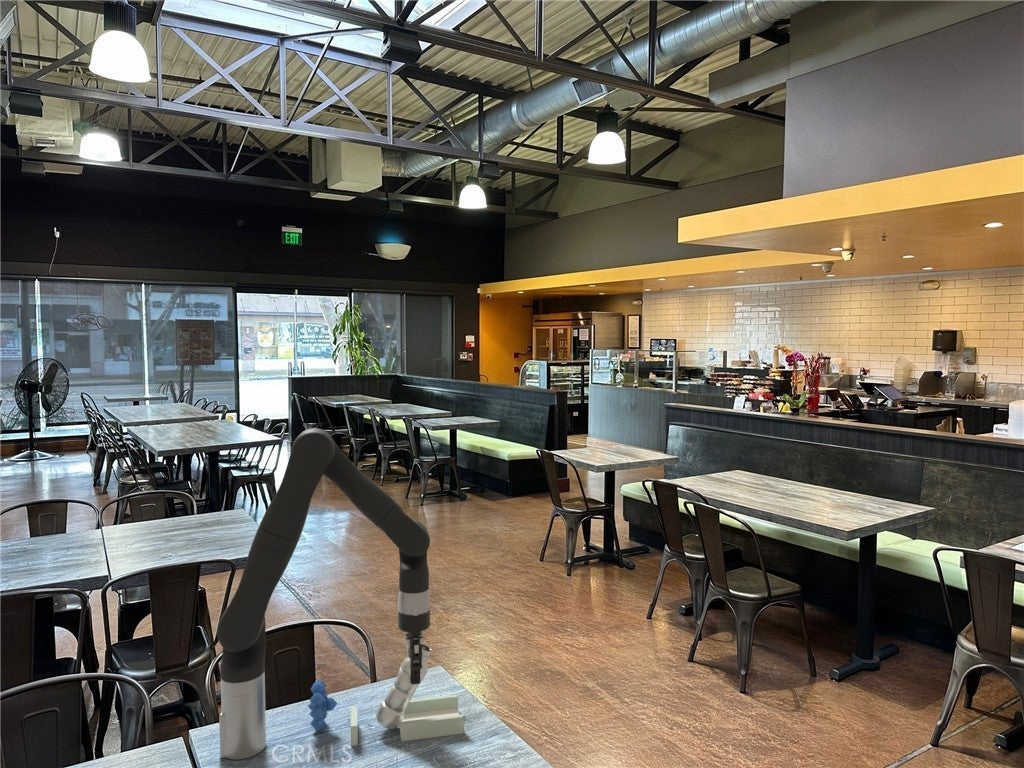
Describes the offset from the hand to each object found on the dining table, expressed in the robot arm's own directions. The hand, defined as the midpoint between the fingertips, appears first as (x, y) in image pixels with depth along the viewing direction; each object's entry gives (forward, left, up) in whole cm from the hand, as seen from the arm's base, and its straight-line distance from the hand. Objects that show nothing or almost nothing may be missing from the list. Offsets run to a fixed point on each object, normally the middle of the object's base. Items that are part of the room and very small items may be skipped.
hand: (414, 676), depth 162 cm
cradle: (+5, 0, -12) cm, 13 cm away
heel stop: (-14, 0, -12) cm, 19 cm away
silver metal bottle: (-7, 0, -11) cm, 13 cm away
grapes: (-21, +4, -13) cm, 25 cm away
